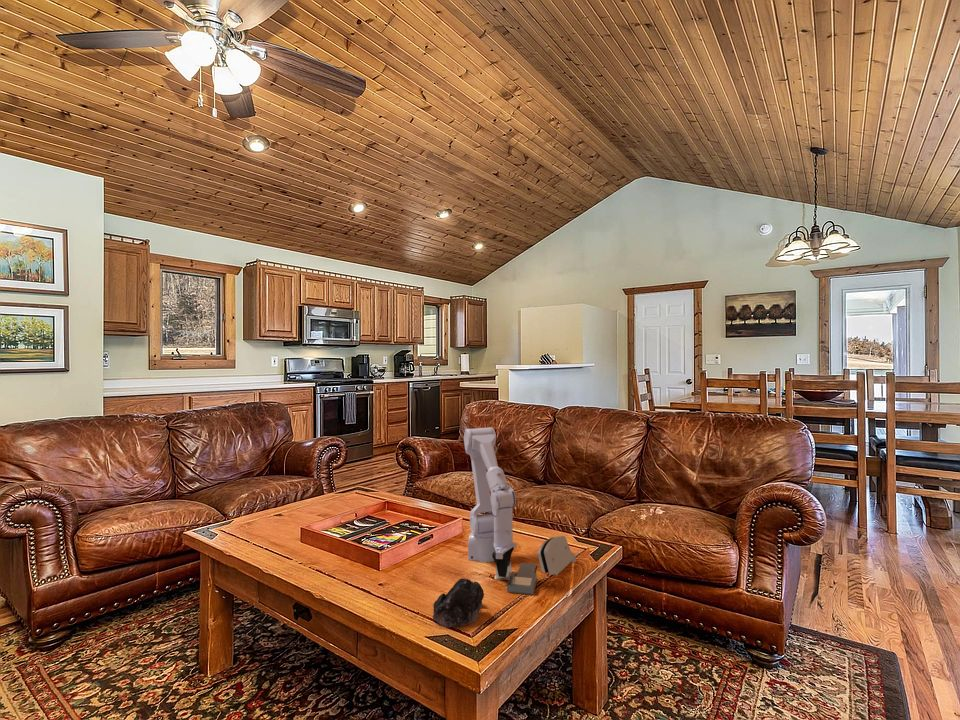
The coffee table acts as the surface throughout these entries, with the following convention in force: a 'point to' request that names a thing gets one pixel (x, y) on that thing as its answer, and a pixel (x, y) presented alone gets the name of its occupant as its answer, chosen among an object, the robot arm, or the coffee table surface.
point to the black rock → (459, 604)
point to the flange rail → (523, 580)
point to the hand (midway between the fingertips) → (503, 573)
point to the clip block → (507, 572)
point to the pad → (500, 578)
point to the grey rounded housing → (555, 555)
